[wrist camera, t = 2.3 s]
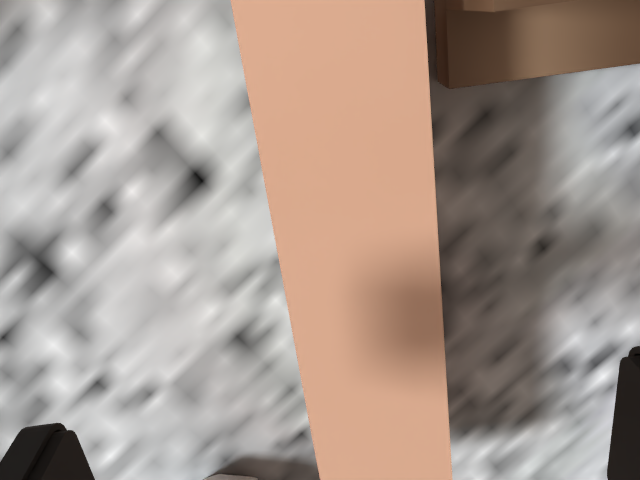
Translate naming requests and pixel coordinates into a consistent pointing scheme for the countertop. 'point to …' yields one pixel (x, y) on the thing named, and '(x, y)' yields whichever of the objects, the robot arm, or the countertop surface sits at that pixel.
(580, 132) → the countertop surface
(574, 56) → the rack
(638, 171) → the countertop surface
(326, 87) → the clay strip
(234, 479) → the tube
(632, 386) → the robot arm
